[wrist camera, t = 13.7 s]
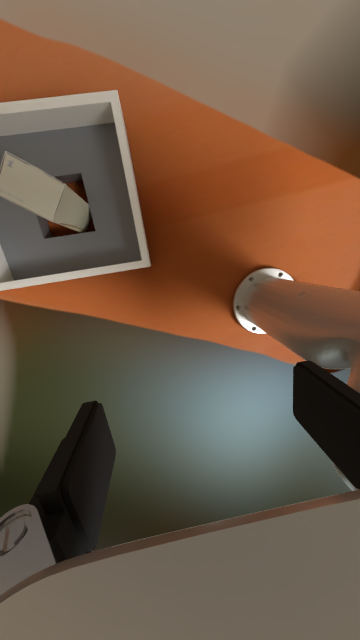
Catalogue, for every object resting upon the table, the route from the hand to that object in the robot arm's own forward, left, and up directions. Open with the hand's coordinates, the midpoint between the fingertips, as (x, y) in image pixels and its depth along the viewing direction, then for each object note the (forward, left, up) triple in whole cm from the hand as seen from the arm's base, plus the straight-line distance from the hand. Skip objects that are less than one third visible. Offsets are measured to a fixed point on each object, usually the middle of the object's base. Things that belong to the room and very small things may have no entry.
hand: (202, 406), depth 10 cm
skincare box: (+13, -16, -31) cm, 37 cm away
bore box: (+13, -16, -30) cm, 37 cm away
